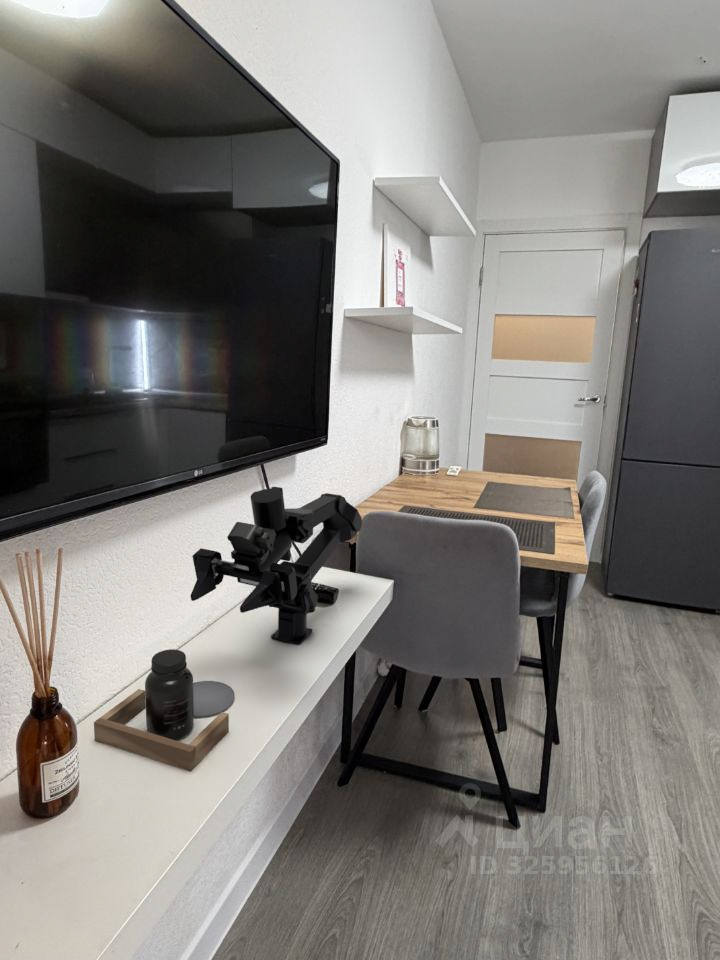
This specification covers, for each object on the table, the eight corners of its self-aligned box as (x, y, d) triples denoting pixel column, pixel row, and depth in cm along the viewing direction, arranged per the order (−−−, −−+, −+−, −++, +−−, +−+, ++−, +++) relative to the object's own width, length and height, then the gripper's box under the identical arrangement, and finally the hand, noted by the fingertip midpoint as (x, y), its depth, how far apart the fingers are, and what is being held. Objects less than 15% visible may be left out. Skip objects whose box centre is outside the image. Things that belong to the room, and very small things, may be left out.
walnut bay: (139, 705, 95) (138, 688, 94) (228, 731, 90) (228, 713, 89) (94, 740, 86) (93, 722, 86) (190, 771, 81) (190, 751, 80)
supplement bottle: (139, 726, 90) (136, 653, 87) (182, 710, 94) (181, 641, 92) (157, 750, 85) (154, 673, 82) (201, 732, 89) (201, 659, 87)
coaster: (195, 678, 104) (195, 675, 104) (246, 691, 100) (246, 688, 100) (158, 709, 94) (158, 706, 94) (212, 724, 91) (212, 721, 91)
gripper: (215, 505, 107) (158, 550, 94) (308, 521, 100) (261, 572, 87) (223, 557, 111) (171, 607, 99) (313, 576, 105) (269, 632, 92)
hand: (215, 604), depth 94 cm, fingers open, 9 cm apart
